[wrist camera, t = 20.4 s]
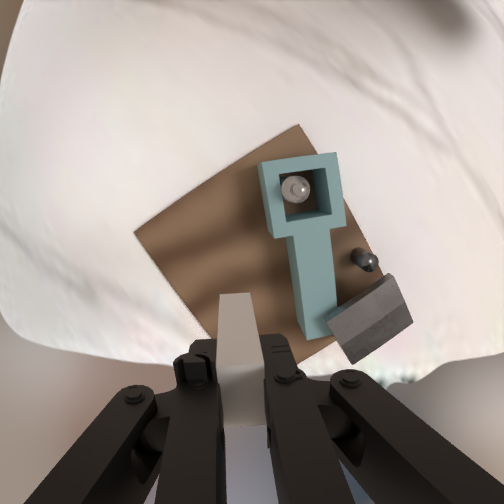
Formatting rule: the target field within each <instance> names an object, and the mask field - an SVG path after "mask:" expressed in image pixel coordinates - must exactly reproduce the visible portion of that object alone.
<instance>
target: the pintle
mask: <svg viewBox="0 0 504 504" xmlns="http://www.w3.org/2000/svg"><path fill="white" fill-rule="evenodd" d="M279 180H280V186H281V192H282V198H283V199H284V200H287V201H290V202H292V203H301V202H303V201H305V200H306V199H307V198H308V196H309V194H310V186H309V183H308V182H307V180H306V179H305V178H303V177H301V176H284V177H280V178H279Z"/></svg>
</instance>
